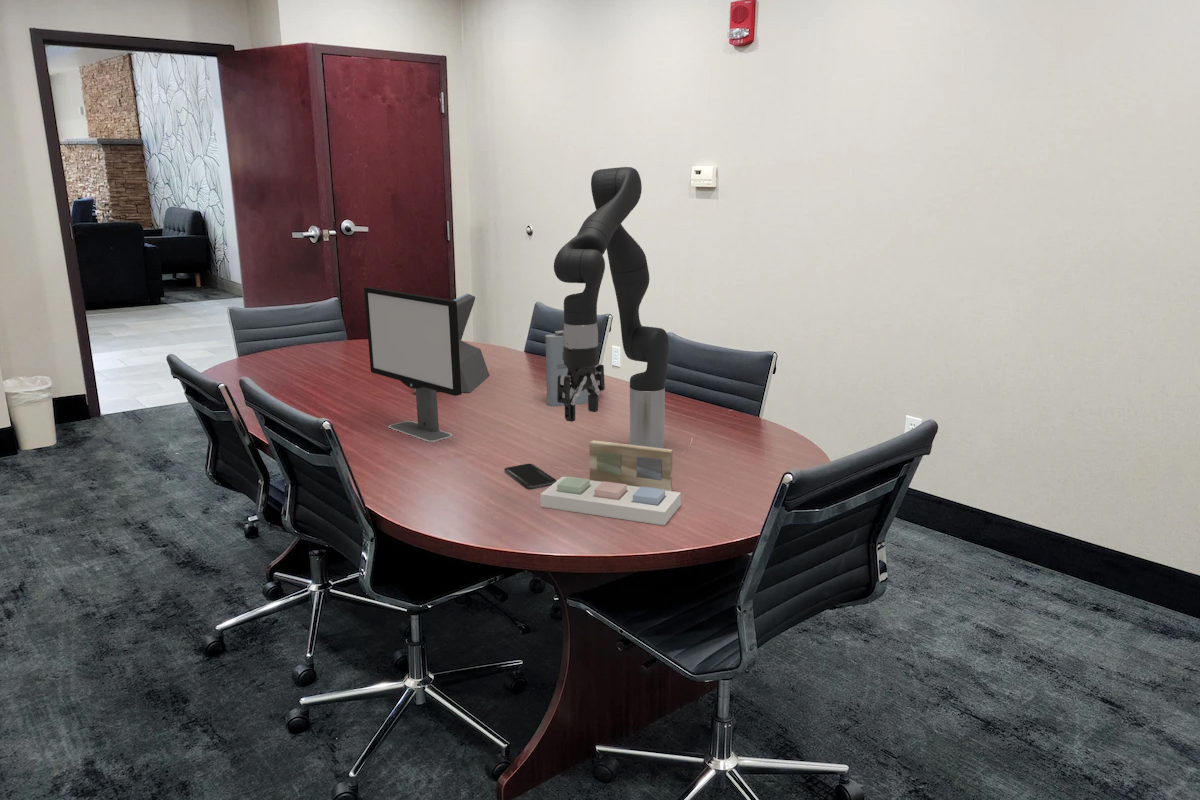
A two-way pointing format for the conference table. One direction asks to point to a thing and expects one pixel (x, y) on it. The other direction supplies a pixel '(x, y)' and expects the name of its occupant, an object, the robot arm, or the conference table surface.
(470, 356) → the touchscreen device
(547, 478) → the phone
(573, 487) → the key sage
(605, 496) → the key rose
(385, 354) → the computer monitor
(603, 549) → the conference table surface
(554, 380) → the flask
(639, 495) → the key slate
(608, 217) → the robot arm
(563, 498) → the keypad
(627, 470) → the card
